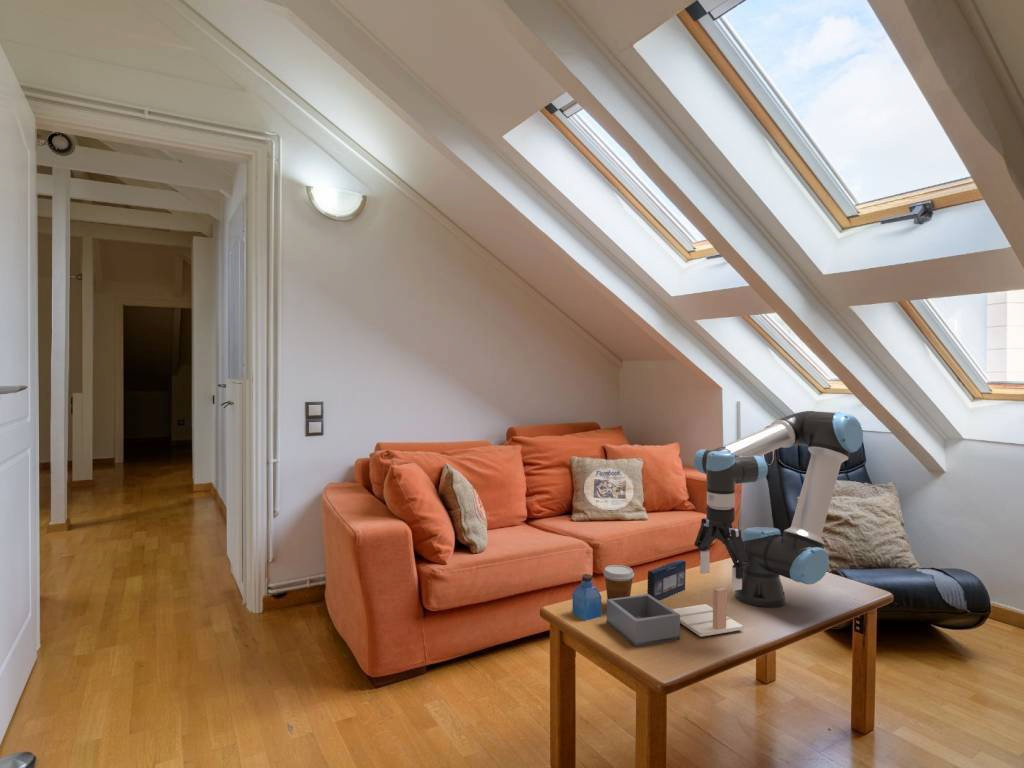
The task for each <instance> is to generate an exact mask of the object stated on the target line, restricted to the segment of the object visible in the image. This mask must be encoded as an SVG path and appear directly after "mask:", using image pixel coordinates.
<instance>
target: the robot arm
mask: <svg viewBox="0 0 1024 768" xmlns="http://www.w3.org/2000/svg"><path fill="white" fill-rule="evenodd" d="M863 441H864V431H863V428H862V425H861V422H860V420H858V419H857V417H856V416H854V414H853V415H852V414H849V413H843V412H831V411H830V412H828V411H815V410H805V411H800V412H799V411H798V412H796V413H792V414H790V415H786V416H784V417H780V418H778V419H776V420H774V421H773V422H771V424H770V425H769V426H767V427H764V428H763V429H760V430H758V431H755V432H753V433H751V434H750V433H749V434H748V435H746V436H744V437H741V438H739V439H736V440H734V441H731V442H729V443H727V444H724V445H722V446H720V447H719V446H718V447H717V448H715V449H699V450H697V451H696V453H695V455H694V457H693V461H692V462H693V466H694V469H695V470H696V471H697V472H699V473H701V474H704V475H706V504H707V506H706V512H705V513H706V516H705V518H701V520H700V527H699V531H698V533H697V535H696V538H695V541H694V547H697V549H698V551H699V561H700V563H699V565H700V567H699V570H700V571H699V572H700V575H703V574H704V575H705V574H710V573H711V571H710V570H711V569H710V565H711V563H710V557H711V556H710V554H711V553H710V546H711V545H712V544H713V542H714V541H715V540H718V541H719V542H721V543H722V544H723V545H724V546H725V548H726V550H727V552H728V555H729V557H730V559H731V560H732V563H733V565H732V566H731V590H732V591H734V594H735V597H736V598H737V599H738V600H739V601H741V602H742V603H746V604H748V605H751V606H752V605H753V606H756V607H763V608H777V607H781V606H784V604H785V603H786V593H785V591H784V588H783V585H782V581H781V577H780V576H782V577H784V578H787V579H789V580H792V581H794V582H796V583H801V584H804V585H814V584H815V585H816V583H818V582H820V581H821V580H822V579H823V578H824V577H825V575H826V573H827V572H828V570H829V567H830V566H829V565H830V559H829V558H830V556H829V553H828V552H827V550H825V546H826V543H825V542H824V540H823V538H822V534H823V531H824V527H825V523H826V521H827V516H828V512H829V509H830V506H831V501H832V498H833V495H834V492H835V488H836V484H837V480H838V476H839V473H840V470H841V466H842V463H844V462H845V461H848V460H849V458H850V454H851V453H855V452H857V451H858V450H859V449H860V448H861V447H862V445H863ZM793 446H794V447H795V446H807V450H808V452H809V453H810V458H809V462H808V466H807V469H806V473H805V475H804V479H803V482H802V483H803V484H802V487H801V490H800V493H799V497H798V500H797V504H796V508H795V510H794V511H795V512H794V514H793V519H792V521H791V525H790V527H788V528H787V529H784V530H783V533H781V530H780V529H779V528H776V527H769V526H754V527H747V528H745V529H743V530H742V531H741V528H733V522H735V518H736V517H735V515H736V513H735V512H736V511H735V508H734V507H735V505H736V497H735V496H736V493H735V492H736V491H735V490H736V488H735V487H736V485H738V484H739V485H740V484H746V483H747V484H749V483H756V482H759V481H760V482H761V481H763V480H764V479H766V478H767V475H768V472H769V471H768V464H767V462H766V460H765V459H764V458H763V457H762V456H763V455H767V454H768V453H771V452H774V451H776V450H779V449H780V448H785V449H787V448H791V447H793ZM781 535H782V536H781Z"/></svg>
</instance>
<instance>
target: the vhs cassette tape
mask: <svg viewBox="0 0 1024 768" xmlns="http://www.w3.org/2000/svg"><path fill="white" fill-rule="evenodd" d="M686 561H687V560H683V559H678V560H675V561H673V562H670V563H667V564H665V565H662V566H659V567H655V568H653V569H651V570H648V571H647V591H646V592H647V593H646V594H649V595H651V596H652V597H654V598H655V599H657V600H658V601H659V600H660V601H661V600H664V598H665V599H666V598H669V596H670V597H672V596H674V595H676V593H677V594H679V593H682V592H684V591H685V590H686V571H687V570H686V567H687V564H686V563H687V562H686ZM683 590H684V591H683ZM678 592H679V593H678ZM673 594H674V595H673ZM671 595H672V596H671Z"/></svg>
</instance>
